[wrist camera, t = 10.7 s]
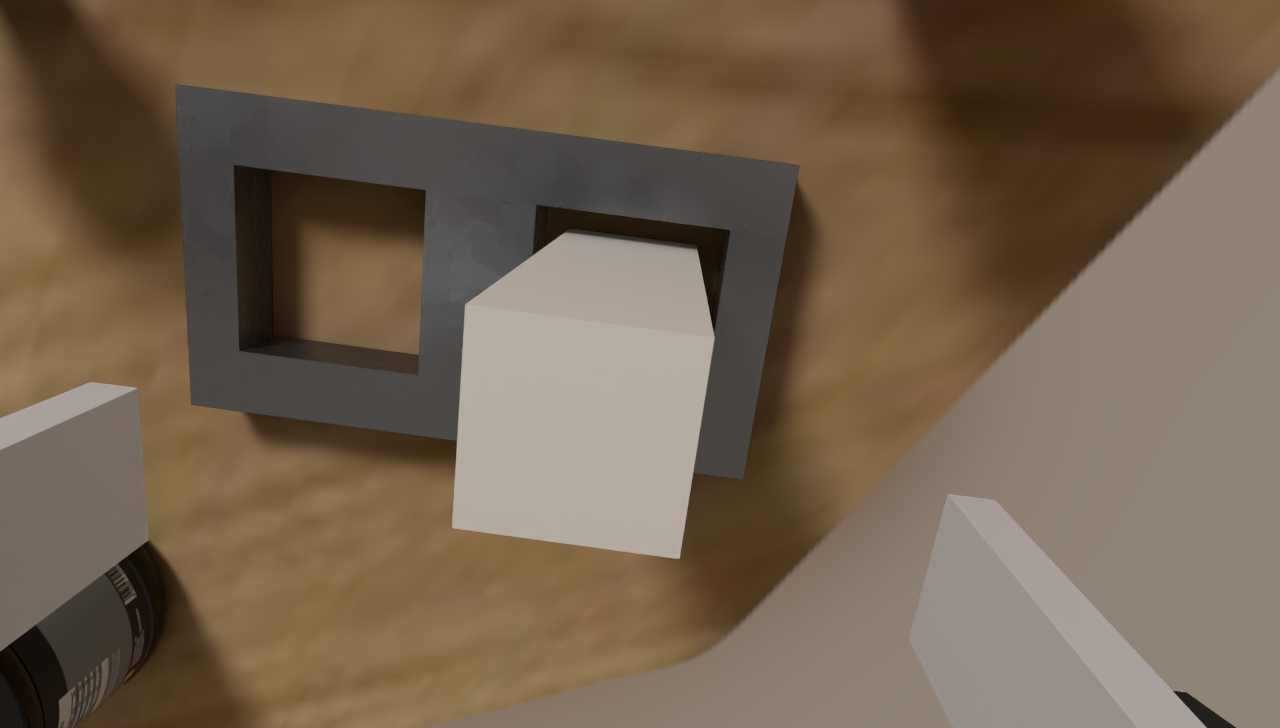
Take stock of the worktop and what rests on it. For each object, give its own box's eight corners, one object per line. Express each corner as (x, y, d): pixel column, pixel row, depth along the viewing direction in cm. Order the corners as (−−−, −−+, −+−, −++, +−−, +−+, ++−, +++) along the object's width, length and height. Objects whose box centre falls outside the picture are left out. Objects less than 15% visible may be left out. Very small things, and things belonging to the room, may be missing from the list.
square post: (558, 349, 30) (452, 527, 16) (570, 228, 29) (464, 304, 15) (678, 365, 30) (679, 559, 16) (696, 244, 29) (714, 337, 15)
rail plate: (228, 385, 32) (191, 404, 29) (217, 89, 28) (175, 83, 26) (737, 454, 31) (743, 479, 29) (789, 163, 28) (799, 165, 26)
